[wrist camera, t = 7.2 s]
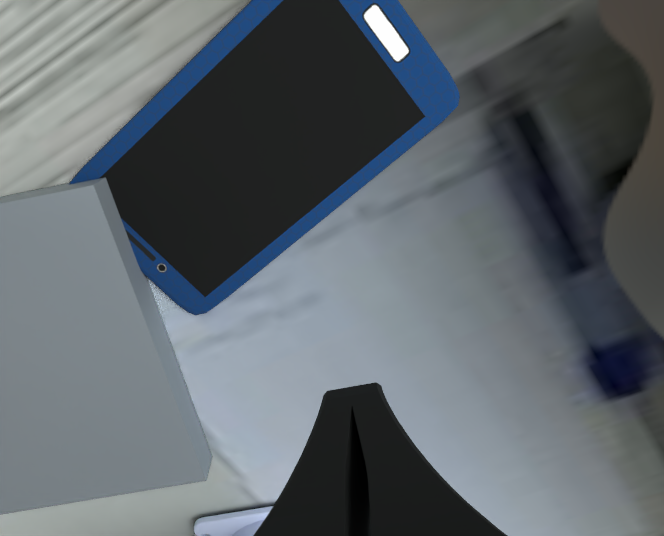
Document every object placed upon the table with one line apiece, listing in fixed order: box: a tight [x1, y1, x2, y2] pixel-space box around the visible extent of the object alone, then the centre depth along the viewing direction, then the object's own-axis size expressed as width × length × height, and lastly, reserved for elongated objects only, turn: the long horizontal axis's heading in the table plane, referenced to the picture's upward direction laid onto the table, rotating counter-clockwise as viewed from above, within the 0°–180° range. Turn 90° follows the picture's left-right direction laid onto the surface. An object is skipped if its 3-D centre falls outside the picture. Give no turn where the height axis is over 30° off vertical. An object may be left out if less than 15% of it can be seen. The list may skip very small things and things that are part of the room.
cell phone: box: [69, 0, 460, 315], centre depth 20 cm, size 7×14×1 cm, turn 130°
